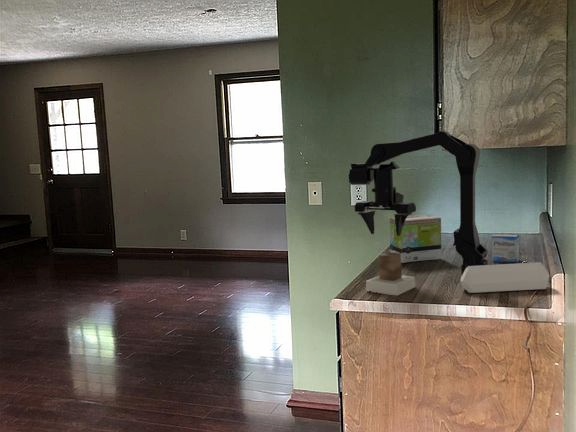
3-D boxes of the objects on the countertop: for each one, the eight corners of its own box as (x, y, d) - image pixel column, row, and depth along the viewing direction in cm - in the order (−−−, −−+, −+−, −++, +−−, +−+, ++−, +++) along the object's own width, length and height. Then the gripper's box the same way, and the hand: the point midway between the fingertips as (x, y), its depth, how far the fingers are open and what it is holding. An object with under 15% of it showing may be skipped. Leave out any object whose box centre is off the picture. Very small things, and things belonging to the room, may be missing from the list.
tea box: (402, 264, 201) (401, 220, 199) (389, 258, 211) (388, 217, 209) (442, 259, 205) (441, 216, 203) (428, 254, 215) (427, 213, 213)
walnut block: (401, 277, 170) (400, 253, 169) (393, 281, 167) (392, 256, 166) (387, 275, 173) (386, 252, 172) (379, 279, 170) (378, 255, 169)
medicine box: (491, 261, 197) (491, 236, 196) (494, 259, 201) (493, 233, 199) (517, 263, 193) (517, 236, 192) (519, 260, 197) (518, 234, 196)
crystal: (466, 282, 158) (557, 278, 157) (459, 264, 164) (547, 259, 163) (462, 302, 163) (551, 298, 162) (456, 284, 168) (542, 279, 168)
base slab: (415, 287, 171) (414, 276, 171) (397, 295, 163) (396, 284, 163) (384, 283, 177) (384, 272, 177) (366, 291, 170) (365, 280, 169)
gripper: (423, 182, 182) (425, 232, 184) (371, 181, 194) (373, 229, 196) (405, 185, 174) (407, 238, 176) (352, 185, 186) (354, 234, 188)
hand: (385, 234), depth 184 cm, fingers open, 9 cm apart
